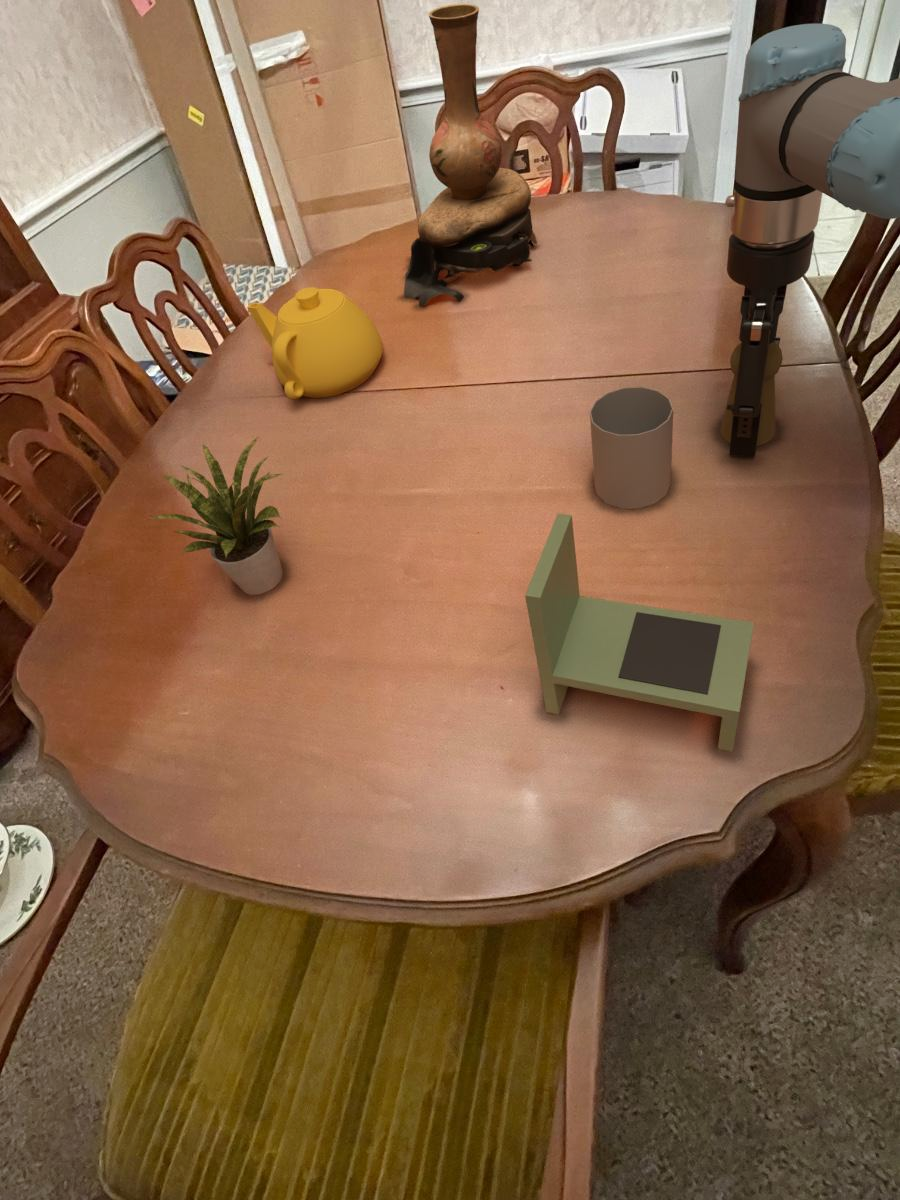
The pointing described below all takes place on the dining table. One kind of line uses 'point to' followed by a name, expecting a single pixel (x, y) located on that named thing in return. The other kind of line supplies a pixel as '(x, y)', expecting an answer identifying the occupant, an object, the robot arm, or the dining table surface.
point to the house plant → (233, 525)
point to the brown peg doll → (767, 398)
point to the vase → (466, 177)
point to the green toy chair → (631, 644)
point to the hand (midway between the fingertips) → (747, 426)
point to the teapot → (320, 343)
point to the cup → (632, 446)
